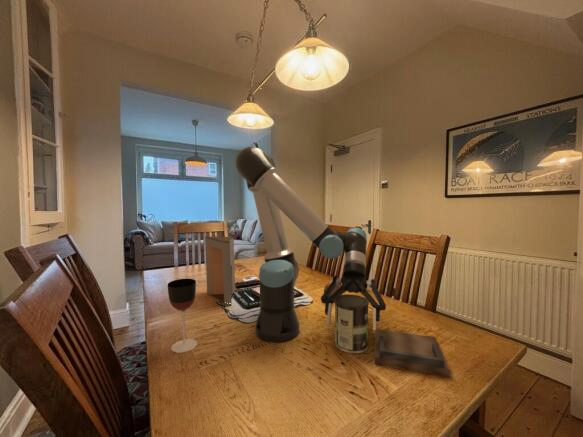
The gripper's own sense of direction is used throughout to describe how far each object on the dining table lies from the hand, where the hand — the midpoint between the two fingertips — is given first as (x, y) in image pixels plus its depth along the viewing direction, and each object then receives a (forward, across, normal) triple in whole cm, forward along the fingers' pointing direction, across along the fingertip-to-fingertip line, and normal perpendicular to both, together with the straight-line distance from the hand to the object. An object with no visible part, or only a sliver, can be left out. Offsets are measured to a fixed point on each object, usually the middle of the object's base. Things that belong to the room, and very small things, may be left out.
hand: (350, 328), depth 77 cm
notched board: (+3, -16, -6) cm, 17 cm away
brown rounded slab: (-21, +11, -30) cm, 39 cm away
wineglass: (+14, +50, +5) cm, 52 cm away
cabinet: (-13, +59, -22) cm, 65 cm away
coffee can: (+3, 0, -6) cm, 7 cm away
